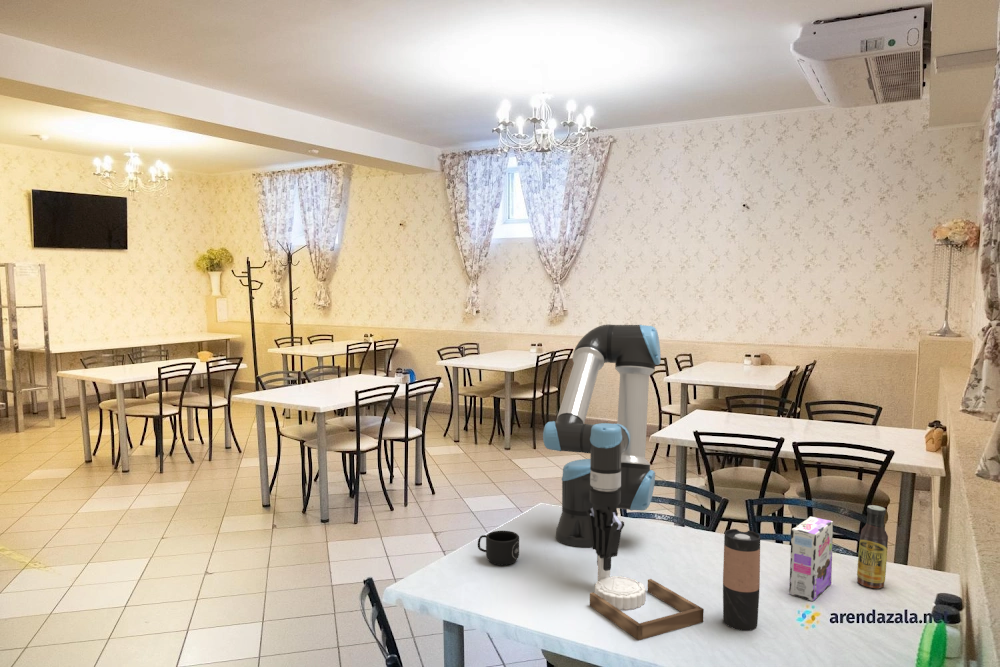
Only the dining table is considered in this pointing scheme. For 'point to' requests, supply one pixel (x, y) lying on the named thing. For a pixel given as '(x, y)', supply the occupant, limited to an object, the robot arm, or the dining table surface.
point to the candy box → (811, 558)
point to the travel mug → (741, 579)
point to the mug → (501, 547)
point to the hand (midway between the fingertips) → (603, 581)
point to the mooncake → (621, 592)
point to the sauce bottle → (873, 549)
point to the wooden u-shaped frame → (685, 618)
